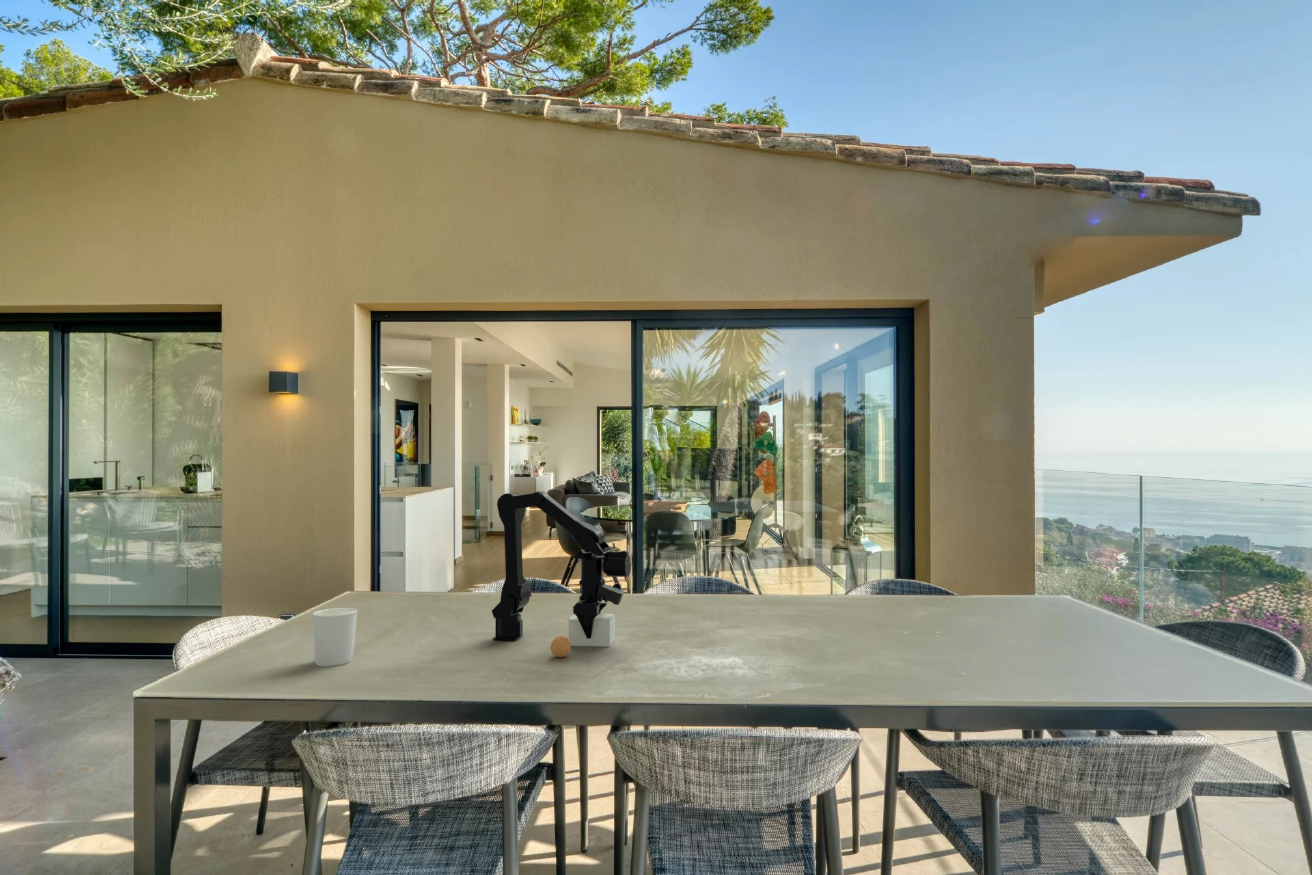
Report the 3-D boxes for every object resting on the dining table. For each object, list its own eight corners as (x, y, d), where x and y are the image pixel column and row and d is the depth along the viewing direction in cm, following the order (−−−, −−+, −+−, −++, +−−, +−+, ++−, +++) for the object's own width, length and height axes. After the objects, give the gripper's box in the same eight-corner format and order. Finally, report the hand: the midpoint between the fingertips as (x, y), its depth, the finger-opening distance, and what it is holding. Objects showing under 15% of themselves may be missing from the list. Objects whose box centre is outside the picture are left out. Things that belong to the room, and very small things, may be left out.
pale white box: (568, 645, 170) (568, 619, 170) (574, 638, 177) (574, 613, 177) (609, 646, 169) (609, 620, 169) (614, 639, 176) (614, 613, 176)
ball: (548, 659, 157) (548, 638, 157) (553, 653, 162) (553, 633, 162) (568, 659, 157) (568, 639, 157) (573, 654, 162) (573, 633, 162)
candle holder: (301, 665, 153) (302, 614, 154) (333, 654, 163) (334, 606, 163) (335, 669, 151) (336, 617, 151) (365, 657, 160) (366, 608, 161)
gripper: (615, 581, 164) (616, 644, 163) (626, 570, 182) (626, 626, 181) (572, 581, 165) (572, 643, 164) (587, 570, 183) (587, 626, 182)
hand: (591, 634), depth 173 cm, fingers closed on pale white box, 7 cm apart
